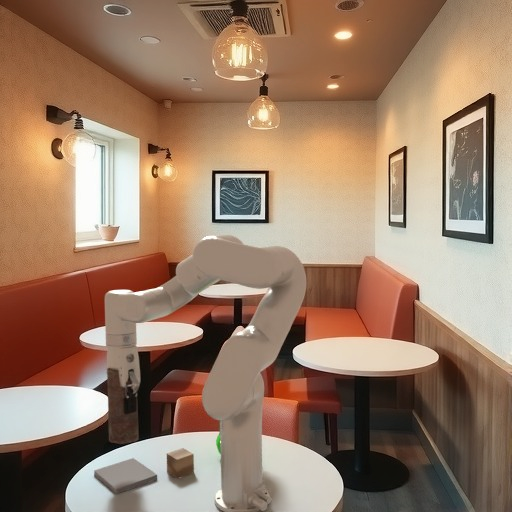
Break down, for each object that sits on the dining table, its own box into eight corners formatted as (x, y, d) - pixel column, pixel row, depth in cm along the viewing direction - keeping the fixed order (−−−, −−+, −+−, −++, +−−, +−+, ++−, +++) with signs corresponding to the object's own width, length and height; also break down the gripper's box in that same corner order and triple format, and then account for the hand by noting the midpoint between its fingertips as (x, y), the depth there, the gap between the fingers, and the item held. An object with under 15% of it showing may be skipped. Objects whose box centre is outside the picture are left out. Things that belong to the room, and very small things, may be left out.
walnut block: (193, 472, 136) (193, 453, 135) (177, 479, 132) (176, 459, 132) (183, 466, 139) (183, 447, 139) (167, 472, 136) (166, 453, 136)
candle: (130, 449, 129) (128, 368, 128) (103, 447, 130) (100, 367, 129) (143, 437, 136) (141, 361, 135) (117, 435, 138) (115, 360, 137)
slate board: (157, 479, 132) (157, 474, 132) (116, 494, 125) (116, 489, 125) (133, 462, 142) (133, 457, 142) (94, 475, 135) (94, 470, 135)
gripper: (151, 342, 127) (153, 414, 128) (119, 332, 141) (121, 397, 142) (122, 347, 123) (124, 421, 123) (92, 336, 136) (94, 403, 137)
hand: (123, 408), depth 133 cm, fingers closed on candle, 7 cm apart
